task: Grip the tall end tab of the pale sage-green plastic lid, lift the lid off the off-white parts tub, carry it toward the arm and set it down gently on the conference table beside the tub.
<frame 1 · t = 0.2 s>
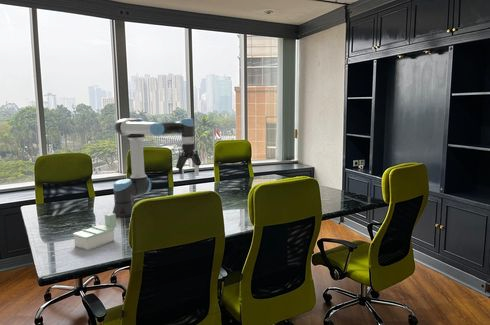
hand: (189, 177, 231), 28 cm above the table, fingers open, 13 cm apart
tub: (95, 243, 197), on the table
lid: (94, 232, 196), point 6 cm above the table, touching tub
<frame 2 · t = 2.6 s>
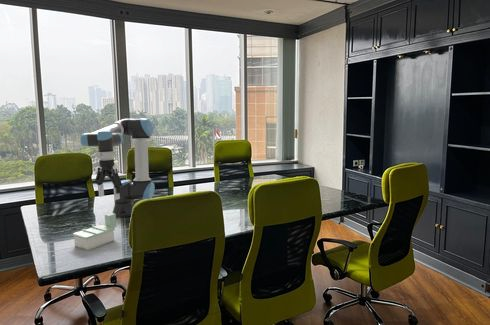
hand: (109, 197, 202), 23 cm above the table, fingers open, 13 cm apart
nothing on the table moved.
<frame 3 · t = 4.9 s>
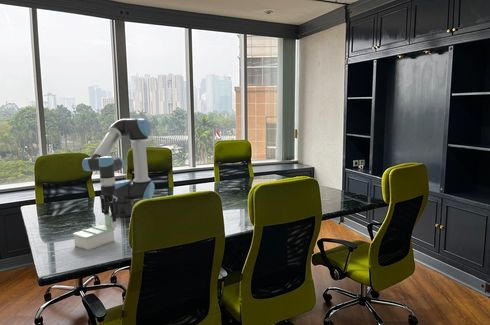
hand: (111, 226, 204), 7 cm above the table, fingers closed on lid, 4 cm apart
lid: (94, 232, 196), point 6 cm above the table, touching gripper, tub
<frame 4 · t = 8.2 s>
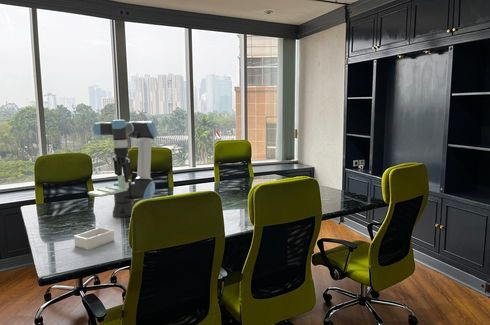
hand: (123, 187, 213), 26 cm above the table, fingers closed on lid, 4 cm apart
lid: (108, 192, 205), point 25 cm above the table, touching gripper
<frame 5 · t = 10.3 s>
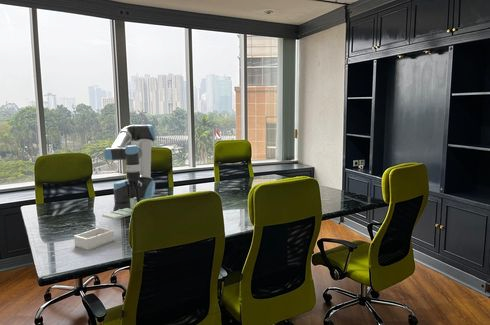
hand: (135, 209, 224), 10 cm above the table, fingers closed on lid, 4 cm apart
lid: (121, 214, 215), point 10 cm above the table, touching gripper
when the fingers open (2 cm above the table, at t = 11.8 s): lid drops 2 cm, on the table.
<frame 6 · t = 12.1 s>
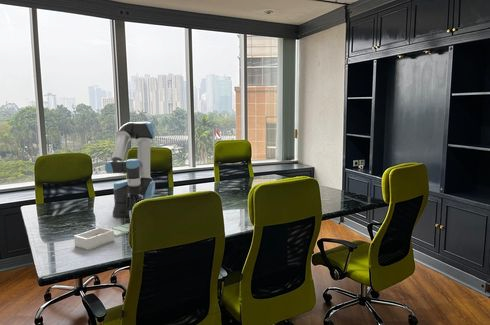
hand: (136, 221, 225), 3 cm above the table, fingers open, 7 cm apart
lid: (122, 230, 217), on the table
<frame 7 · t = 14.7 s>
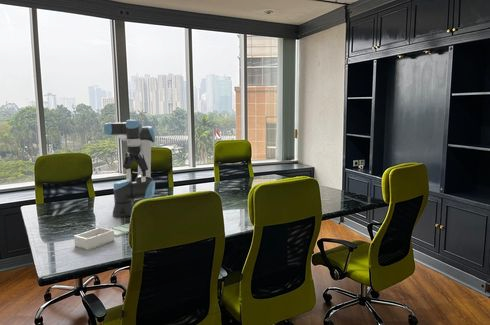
hand: (136, 180, 224), 28 cm above the table, fingers open, 13 cm apart
nothing on the table moved.
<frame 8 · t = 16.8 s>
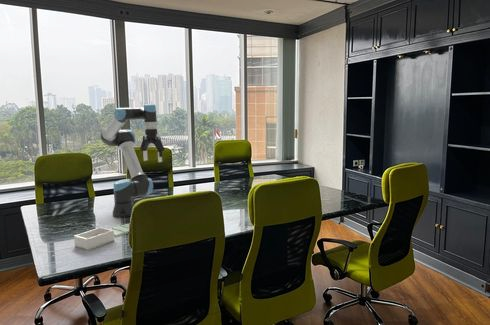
hand: (152, 161, 241), 37 cm above the table, fingers open, 13 cm apart
nothing on the table moved.
at the end: lid inside the target area (2.2 cm from its centre), on the table; lid touching table; the gripper is holding nothing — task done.
